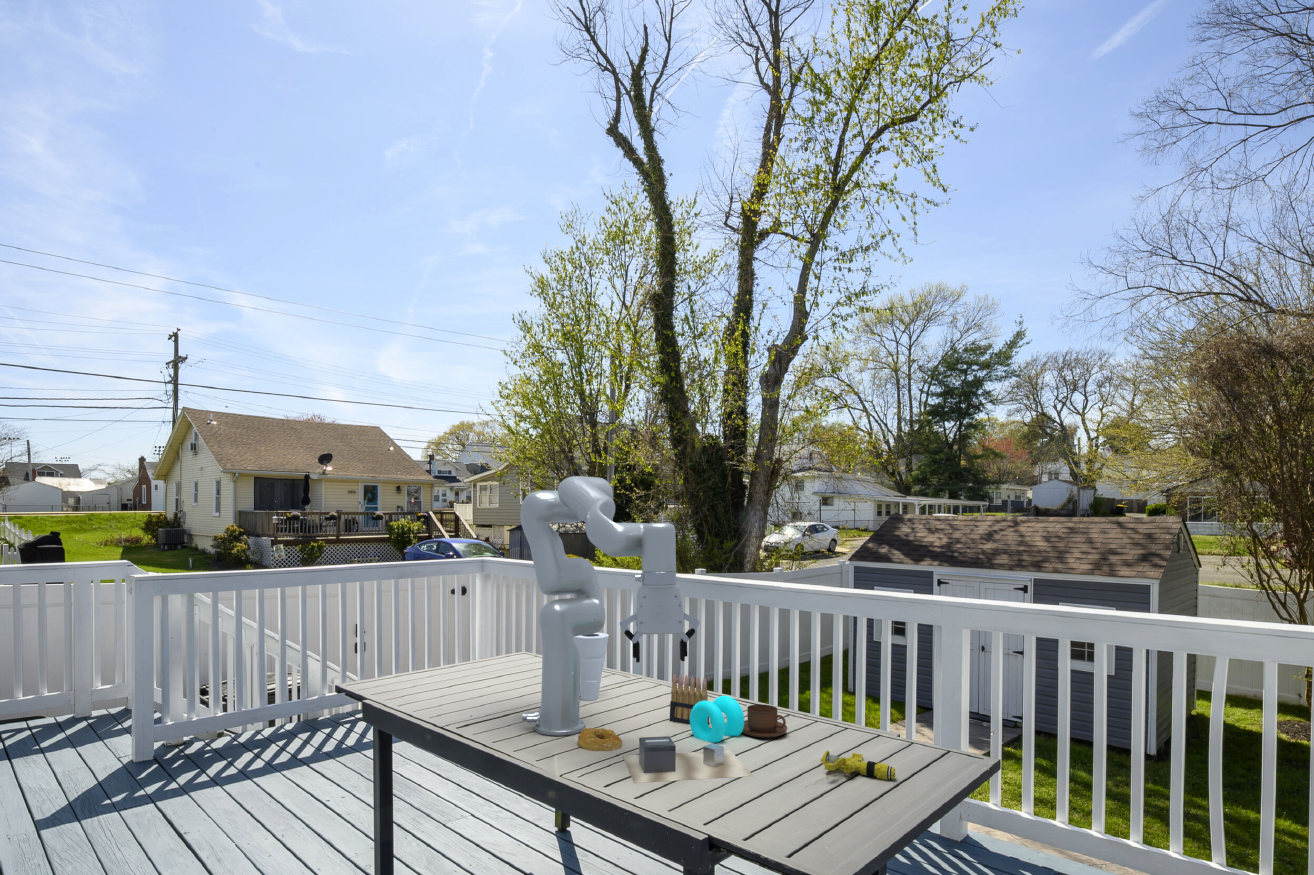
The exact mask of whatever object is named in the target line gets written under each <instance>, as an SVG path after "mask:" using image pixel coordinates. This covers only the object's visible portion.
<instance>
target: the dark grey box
mask: <svg viewBox="0 0 1314 875" xmlns="http://www.w3.org/2000/svg"><path fill="white" fill-rule="evenodd" d="M638 739H639V743H638V744H639V745H638V746H639V747H638V755H639V763H640V766H641V768H642V770H643V772H644V773H659V772H675V765H676V753H677V752H676V748H677V747H676V744H675V742H674V741H673V740H672V738H671V737H670V736H667V735H665V736H648V737H643V736H642V737H639V738H638Z"/></svg>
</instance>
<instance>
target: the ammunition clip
mask: <svg viewBox="0 0 1314 875" xmlns="http://www.w3.org/2000/svg"><path fill="white" fill-rule="evenodd" d="M672 675H673V676H672V679H671V680H672V682H671V683H672V684H671V691H670V692H671V693H670V696H671V697H670V703H669V719H668V720H669V722H672V723H677V724H683V725H689V726H690V714H691V711H692V709H693V707H694V706H695V704H697V703H698V702H700V701H709V699H708V698H709V696H708V684H707V679H706V677H705V676H704V677H703V679H702V682H701V678H700V676H697V678H696V684H695V677H694V676H693V675H692V676H691V678H690V682H689V677H688V675H687V674H686V675H685V678H684V681H683V676H682V674H679V676H678V680H677V675H676V673H673V674H672ZM701 683H702V687H701ZM707 723H708V725H709V726H710V718H709V717H708V718H707Z"/></svg>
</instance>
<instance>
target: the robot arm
mask: <svg viewBox="0 0 1314 875" xmlns="http://www.w3.org/2000/svg"><path fill="white" fill-rule="evenodd" d="M613 498H614V491H613V488H612V485H611V484H610V482H608V480H606V479H604V478H603V477H597V476H582V475H573V476H569V477H567V478H565V479H563V480H562V481H561V482H560V483H559V485H558V487H557V490H550V489H549V490H547V489H546V490H537V491H533V492H530V493H529V494H527V495H526V496H525V498H523V500H522V503H521V507H520V524H521V528H522V531H523V532H524V536H525V537H526V541H527V542H528V545H529V547H530V548H529V549H530V553H531V557H532V562H533V563H532V564H533V568H534V572H535V577H536V581H537V586H538V588H539V590H540V592H541V593H542V594H543V595H545V596H550V597H551V596H571V595H573V596H574V597H569V598H568V597H567V598H559V599H553V600H551V601H548V602H547V603H545V604H544V605H543V606H542V608H540V611H539V617H538V618H539V619H538V620H539V621H538V623H539V629H540V633H541V635H540V636H541V647H542V654H541V656H542V658H541V659H542V662H541V663H542V664H541V666H542V668H541V698H540V699H541V700H540V707H539V709H538V710H536V711H534V712H522V714H521V715H522V716H521V718H522V720H521V721H522V722H526V723H534V725H533V728H534V731H535V732H536V733H538V734H540V735H541V734H542V735H545V736H555V737H556V736H557V737H559V736H560V737H561V736H571V735H576V734H578V733H579V734H580V733H581V731H582V730H583V729H585V728H586V722H585V721H584V720H582V719H580V700H581V695H580V652H579V649H578V647H577V645H576V643H575V642H574V639H573V637H575V636H580V635H588V634H594V633H600V631H601V630H602V629H603V628H604V625H605V623H606V609H605V604H604V600H603V597H602V596H603V595H602V592H601V587H600V584H599V579H598V576H597V572H596V569H595V567H594V566H593V564H592V563H591V562H590V561H589V560H587V559H586V558H582V557H568V556H567V554H566V552H565V549H564V543H563V540H562V539H561V537H560V535H559V534H558V532H557V531H556V530H555V529H554V528H553V527H552V526H551V525H550V523H552V524H555V523H556V524H561V523H562V524H576V523H580V522H584V528H585V533H586V536H587V539H588V541H589V542H590V543H591V544H593V545H594V546H595V548H597V549H598V550H599V551H601V552H602V553H604V554H605V555H607V556H610V557H615V558H616V557H617V558H618V557H619V558H620V557H641V573H640V574H635V575H634V576H635V577H634V578H635V582H639V583H641V586H638V590H637V595H636V596H637V597H636V598H637V599H636V609H635V610H636V611H635V613H632V614H631V615H629V616H628V617H626V618H625V619H622V620H621V621H619V626H620V627H621V630H622V632H623V633H624V636H625V637H627V638H628V640H629V641H631V642H632V658H633V659H635V662H636V663H640V662H641V657H640V656H641V655H640V654H641V647H640V646H641V644H640V639H641V638H642V636H643V635H676V634H677V635H678V636H679V638H680V641H679V660H680V661H681V662H686V661H685V658H686V657H688V642H689V640H690V639H691V638H692V637H693V636H694V635H695V634H696V632H697V629H698V626H699V625H700V623H701V622H700V620H699V619H697V618H696V617H694V616H692V615H689V614H687V613H686V612H684V605H683V596H682V590H681V586H680V585H677V554H676V553H677V552H676V545H677V544H676V543H677V542H676V540H677V539H676V527H675V525H673V524H672V523H667V522H654V523H653V522H652V523H651V522H649V523H647V522H646V523H645V522H614V521H613V518H614V517H615V513H616V504H615V501H614V500H613ZM684 620H685V621H686V622H689V623H691V625H690V627H689V629H688V630H687V631H686V632H684V629H685V628H684V627H685V626H684V625H685V624H684ZM633 622H635V624H636V625H635V626H636V631H635V632H634V633H633V632H632V631H630V629H629V627H628V625H629V624H632V623H633Z"/></svg>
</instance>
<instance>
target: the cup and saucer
mask: <svg viewBox="0 0 1314 875" xmlns="http://www.w3.org/2000/svg"><path fill="white" fill-rule="evenodd" d="M746 709H747V719H746V720H745V719H744V728H743V730H742V733H744V734H745V735H748V736H749V737H755V738H765V739H766V738H767V739H768V738H770V739H771V738H776V737H779V736H783V735H784V734H785V733H786V732H787V731H788V726H787V725H786V724H787V723H786V722H787V721H786V718H785V717H784V716H783V715H781V714H778V708H777V707H776V706H773V705H770V704H762V703H761V704H752V705H749V706H747V708H746ZM778 718H779V719H781V720H782V722H780V721H778Z"/></svg>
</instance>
